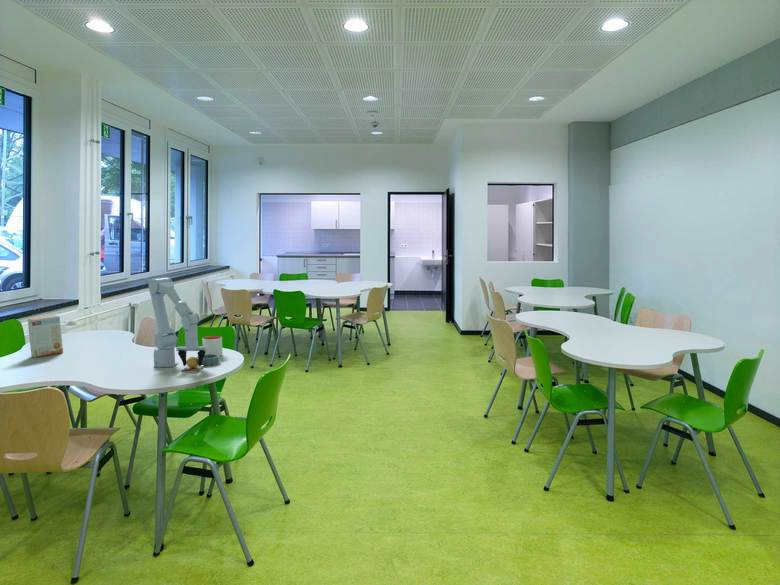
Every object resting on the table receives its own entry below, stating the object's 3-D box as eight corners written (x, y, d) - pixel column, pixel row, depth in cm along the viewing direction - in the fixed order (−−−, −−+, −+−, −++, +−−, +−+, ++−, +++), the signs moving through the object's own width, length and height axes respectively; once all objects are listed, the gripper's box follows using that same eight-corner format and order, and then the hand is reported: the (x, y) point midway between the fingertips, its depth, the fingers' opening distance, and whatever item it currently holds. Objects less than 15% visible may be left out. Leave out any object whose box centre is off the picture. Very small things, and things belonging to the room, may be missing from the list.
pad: (181, 371, 256) (181, 370, 256) (188, 367, 264) (188, 365, 264) (198, 371, 256) (197, 370, 256) (204, 367, 264) (204, 365, 263)
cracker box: (58, 351, 300) (55, 315, 297) (63, 353, 296) (60, 316, 294) (30, 356, 288) (27, 318, 286) (35, 358, 285) (32, 319, 282)
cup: (216, 358, 282) (215, 340, 280) (199, 357, 284) (198, 339, 282) (226, 354, 291) (225, 336, 290) (209, 353, 293) (208, 335, 292)
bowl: (193, 365, 266) (193, 359, 266) (201, 360, 277) (201, 354, 276) (214, 365, 266) (214, 359, 266) (221, 360, 277) (221, 354, 276)
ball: (185, 369, 257) (184, 358, 256) (189, 366, 262) (188, 355, 262) (196, 369, 257) (195, 358, 256) (200, 366, 262) (200, 355, 262)
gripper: (173, 339, 254) (174, 367, 256) (203, 339, 254) (204, 367, 255) (179, 336, 261) (180, 363, 263) (208, 336, 261) (209, 363, 262)
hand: (192, 365), depth 259 cm, fingers open, 7 cm apart
